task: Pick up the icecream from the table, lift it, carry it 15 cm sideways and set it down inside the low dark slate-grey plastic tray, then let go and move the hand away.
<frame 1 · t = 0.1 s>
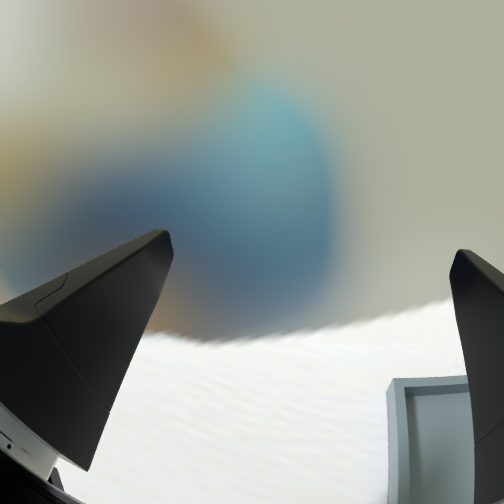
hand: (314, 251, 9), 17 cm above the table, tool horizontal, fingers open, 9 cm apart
tray: (497, 452, 14), on the table
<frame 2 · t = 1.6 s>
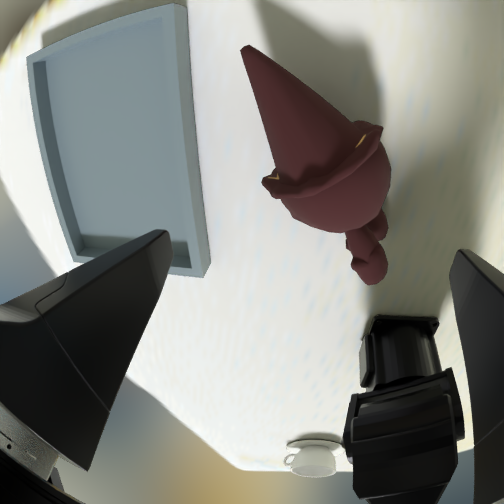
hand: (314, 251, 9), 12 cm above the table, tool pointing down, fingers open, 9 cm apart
teacup: (315, 446, 44), on the table
tray: (116, 150, 21), on the table
icecream: (324, 148, 19), on the table
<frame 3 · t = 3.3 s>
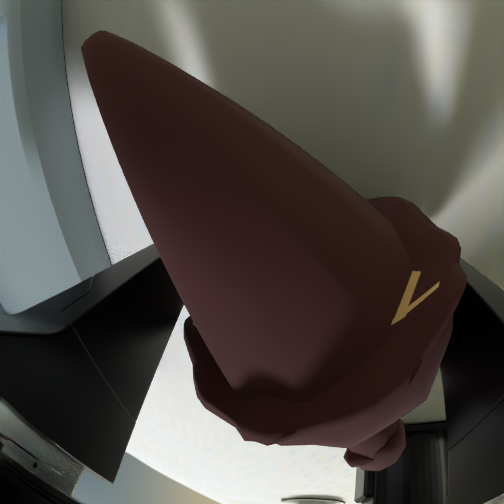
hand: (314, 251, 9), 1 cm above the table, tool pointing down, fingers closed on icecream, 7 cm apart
teacup: (313, 500, 35), on the table
tray: (8, 220, 13), on the table
icecream: (316, 235, 10), on the table, touching gripper
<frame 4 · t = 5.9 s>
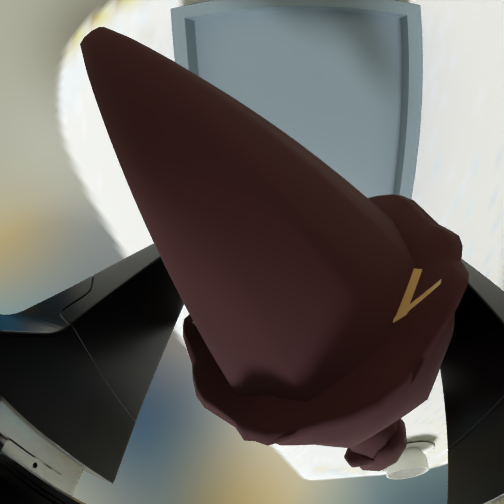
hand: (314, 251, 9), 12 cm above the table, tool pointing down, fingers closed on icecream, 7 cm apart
teacup: (407, 449, 40), on the table
tray: (301, 152, 19), on the table
icecream: (316, 233, 10), point 10 cm above the table, touching gripper
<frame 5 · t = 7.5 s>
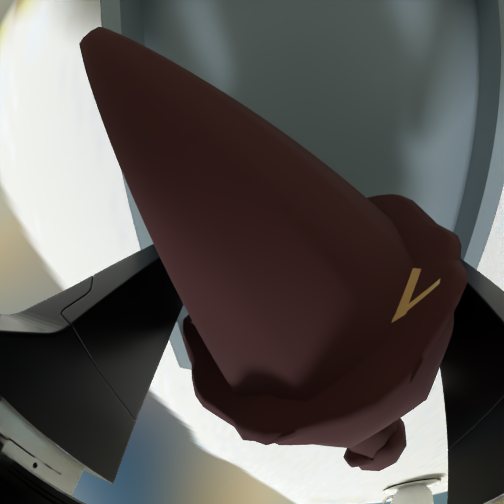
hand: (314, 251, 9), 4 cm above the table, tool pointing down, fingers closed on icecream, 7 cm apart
teacup: (411, 484, 34), on the table
tray: (314, 197, 12), on the table
icecream: (315, 233, 10), point 2 cm above the table, touching gripper
when the fingers open (4 cm above the table, at t = 8.4 s): icecream drops 2 cm, resting on tray.
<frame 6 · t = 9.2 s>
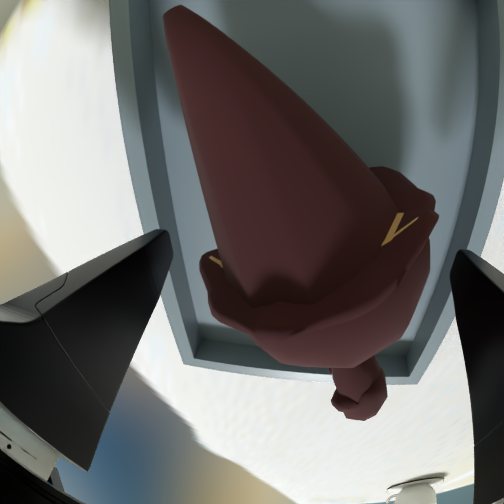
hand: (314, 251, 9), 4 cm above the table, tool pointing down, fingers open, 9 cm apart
teacup: (415, 483, 34), on the table
tray: (317, 195, 12), on the table
icecream: (316, 199, 12), resting on tray
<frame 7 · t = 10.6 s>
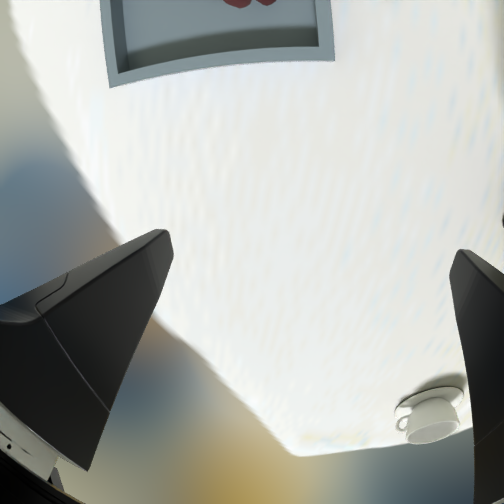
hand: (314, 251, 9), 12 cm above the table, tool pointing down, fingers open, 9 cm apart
teacup: (428, 402, 33), on the table
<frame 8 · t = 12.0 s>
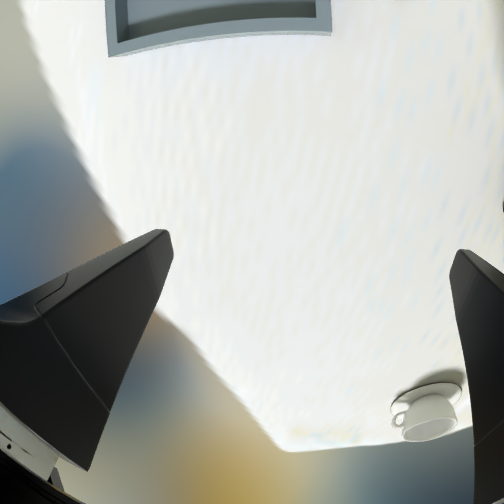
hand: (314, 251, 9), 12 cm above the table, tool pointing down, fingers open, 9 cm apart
teacup: (425, 399, 32), on the table
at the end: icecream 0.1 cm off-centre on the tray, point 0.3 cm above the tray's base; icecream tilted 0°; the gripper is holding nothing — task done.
